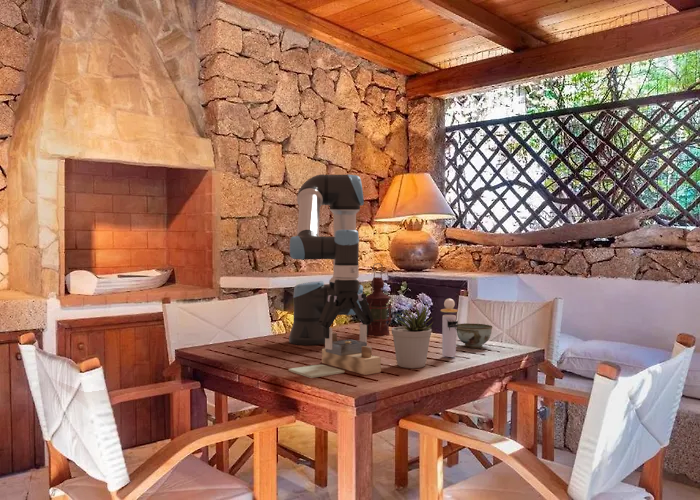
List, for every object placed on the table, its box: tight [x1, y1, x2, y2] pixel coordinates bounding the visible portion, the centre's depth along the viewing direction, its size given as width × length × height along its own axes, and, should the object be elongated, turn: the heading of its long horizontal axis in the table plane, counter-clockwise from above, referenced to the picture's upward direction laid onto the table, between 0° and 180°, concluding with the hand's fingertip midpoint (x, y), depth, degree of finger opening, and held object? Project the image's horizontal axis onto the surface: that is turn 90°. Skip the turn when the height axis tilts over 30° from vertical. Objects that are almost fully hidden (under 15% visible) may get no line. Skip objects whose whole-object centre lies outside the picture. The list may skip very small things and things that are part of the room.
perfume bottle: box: [440, 297, 459, 357], centre depth 205 cm, size 6×6×20 cm
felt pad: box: [288, 363, 345, 379], centre depth 182 cm, size 12×12×1 cm
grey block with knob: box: [326, 338, 368, 356], centre depth 190 cm, size 8×10×3 cm
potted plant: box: [391, 303, 434, 369], centre depth 191 cm, size 13×14×20 cm
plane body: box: [321, 331, 382, 376], centre depth 188 cm, size 22×6×10 cm, turn 38°
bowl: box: [456, 322, 493, 349], centre depth 227 cm, size 14×13×8 cm
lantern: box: [366, 262, 393, 337], centre depth 257 cm, size 12×12×30 cm
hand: (346, 347), depth 190 cm, fingers open, 13 cm apart
